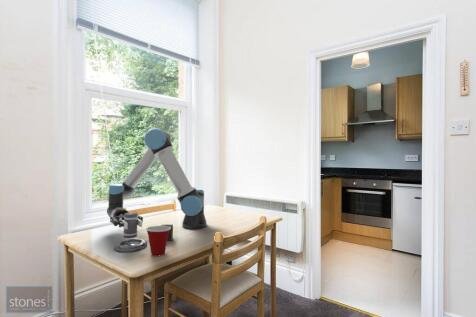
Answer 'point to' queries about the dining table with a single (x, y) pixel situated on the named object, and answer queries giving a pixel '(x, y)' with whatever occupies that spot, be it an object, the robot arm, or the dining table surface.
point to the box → (169, 232)
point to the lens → (131, 224)
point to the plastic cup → (158, 239)
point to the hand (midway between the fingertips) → (134, 225)
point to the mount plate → (130, 245)
